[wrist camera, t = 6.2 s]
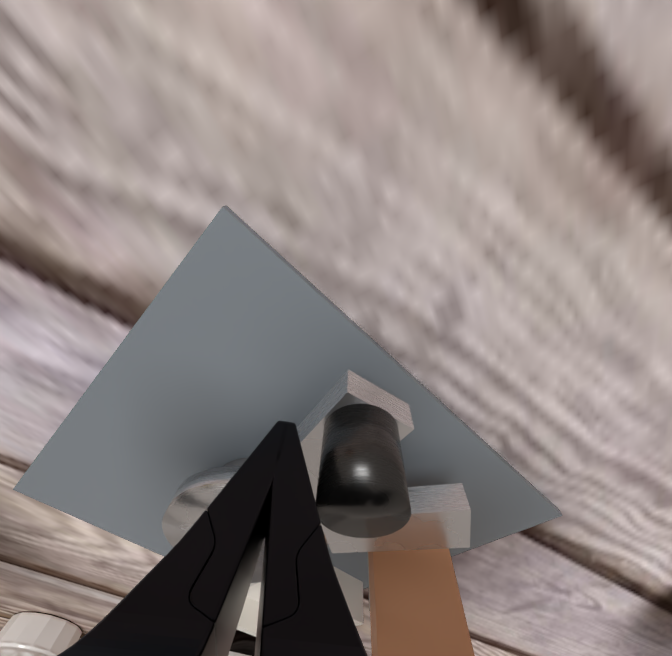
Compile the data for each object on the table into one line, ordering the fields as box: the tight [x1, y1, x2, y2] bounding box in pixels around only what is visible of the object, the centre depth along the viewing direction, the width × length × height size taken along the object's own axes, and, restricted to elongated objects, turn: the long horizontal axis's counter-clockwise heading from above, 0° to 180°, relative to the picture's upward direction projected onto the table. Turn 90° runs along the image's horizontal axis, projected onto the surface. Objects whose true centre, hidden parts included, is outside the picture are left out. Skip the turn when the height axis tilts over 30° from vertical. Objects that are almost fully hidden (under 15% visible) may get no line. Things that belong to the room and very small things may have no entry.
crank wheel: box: [162, 370, 471, 583], centre depth 13 cm, size 14×13×4 cm
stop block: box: [368, 548, 474, 656], centre depth 16 cm, size 4×4×6 cm
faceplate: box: [13, 206, 562, 611], centre depth 17 cm, size 23×23×3 cm
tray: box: [237, 566, 364, 637], centre depth 22 cm, size 8×8×2 cm
